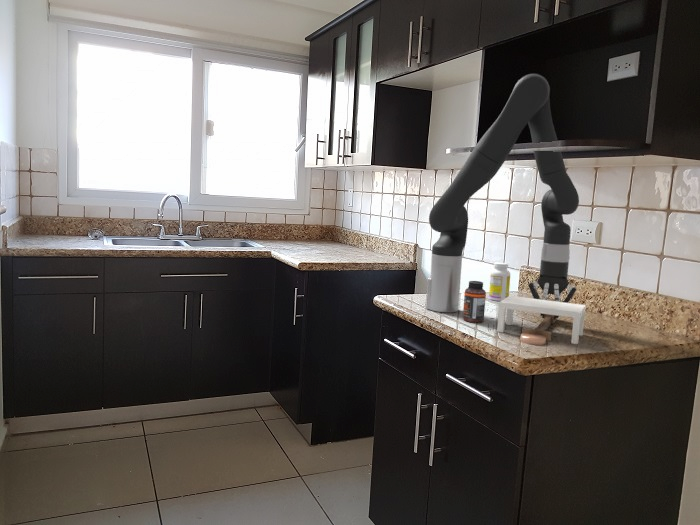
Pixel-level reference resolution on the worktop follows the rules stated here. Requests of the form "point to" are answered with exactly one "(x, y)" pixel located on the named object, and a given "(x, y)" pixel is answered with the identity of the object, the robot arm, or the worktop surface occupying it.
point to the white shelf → (542, 307)
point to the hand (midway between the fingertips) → (549, 318)
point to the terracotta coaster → (533, 339)
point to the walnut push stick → (542, 326)
